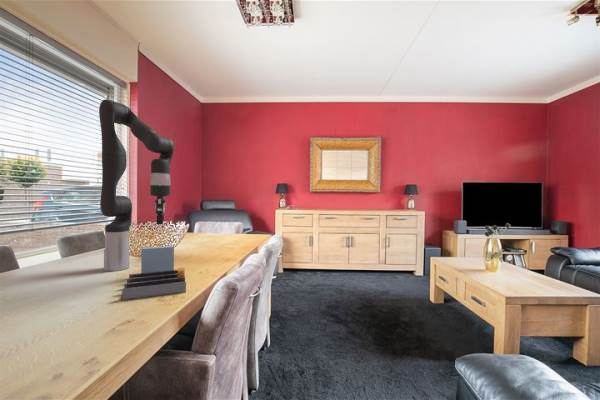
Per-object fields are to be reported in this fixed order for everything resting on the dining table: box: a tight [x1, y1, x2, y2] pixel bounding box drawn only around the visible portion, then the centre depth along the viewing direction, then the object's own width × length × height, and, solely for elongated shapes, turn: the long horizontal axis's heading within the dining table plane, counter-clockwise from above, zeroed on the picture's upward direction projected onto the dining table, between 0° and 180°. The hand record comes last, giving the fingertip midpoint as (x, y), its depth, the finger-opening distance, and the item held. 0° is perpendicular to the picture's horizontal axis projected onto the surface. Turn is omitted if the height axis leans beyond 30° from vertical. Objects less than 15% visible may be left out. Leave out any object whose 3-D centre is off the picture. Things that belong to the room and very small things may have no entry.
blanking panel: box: [140, 245, 175, 273], centre depth 115 cm, size 12×3×12 cm, turn 116°
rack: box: [121, 267, 187, 302], centre depth 100 cm, size 19×18×6 cm
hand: (160, 223), depth 114 cm, fingers open, 8 cm apart
